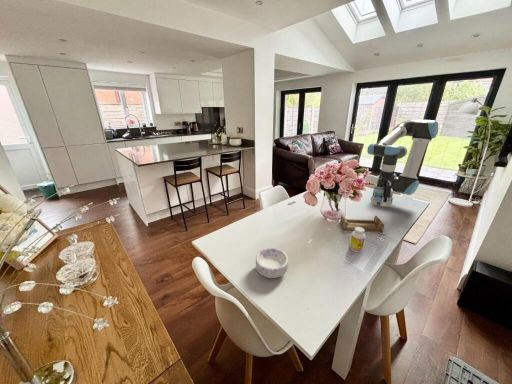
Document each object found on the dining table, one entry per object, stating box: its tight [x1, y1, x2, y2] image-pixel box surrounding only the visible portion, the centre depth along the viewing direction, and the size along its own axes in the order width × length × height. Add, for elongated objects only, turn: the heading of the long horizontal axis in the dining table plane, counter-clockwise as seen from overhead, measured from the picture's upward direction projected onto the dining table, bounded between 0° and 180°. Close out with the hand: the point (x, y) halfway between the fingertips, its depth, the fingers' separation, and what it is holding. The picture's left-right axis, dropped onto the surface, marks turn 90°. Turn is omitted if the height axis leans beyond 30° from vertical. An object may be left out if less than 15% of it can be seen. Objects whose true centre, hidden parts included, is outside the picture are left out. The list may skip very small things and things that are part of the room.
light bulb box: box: [370, 186, 394, 208], centre depth 138 cm, size 11×7×11 cm, turn 68°
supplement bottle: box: [349, 227, 366, 253], centre depth 113 cm, size 7×7×13 cm
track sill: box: [339, 213, 385, 234], centre depth 135 cm, size 11×22×6 cm, turn 83°
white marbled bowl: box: [255, 247, 289, 279], centre depth 99 cm, size 15×15×8 cm
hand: (380, 203), depth 140 cm, fingers closed on light bulb box, 8 cm apart
